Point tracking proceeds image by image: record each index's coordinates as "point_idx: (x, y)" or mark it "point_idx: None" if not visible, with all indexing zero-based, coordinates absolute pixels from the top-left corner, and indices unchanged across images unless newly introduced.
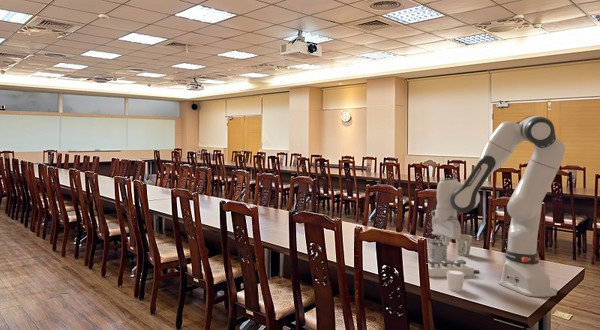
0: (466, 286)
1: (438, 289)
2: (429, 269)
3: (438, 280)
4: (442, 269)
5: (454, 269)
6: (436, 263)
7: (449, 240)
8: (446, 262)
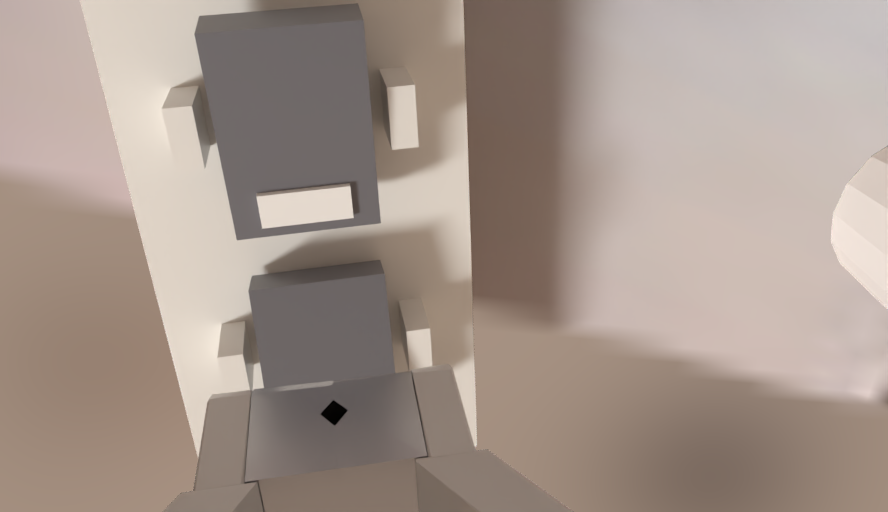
0: (877, 12)
1: (860, 372)
2: (475, 419)
3: (601, 288)
4: (469, 235)
5: (458, 10)
6: (391, 345)
7: (539, 497)
8: (346, 158)
